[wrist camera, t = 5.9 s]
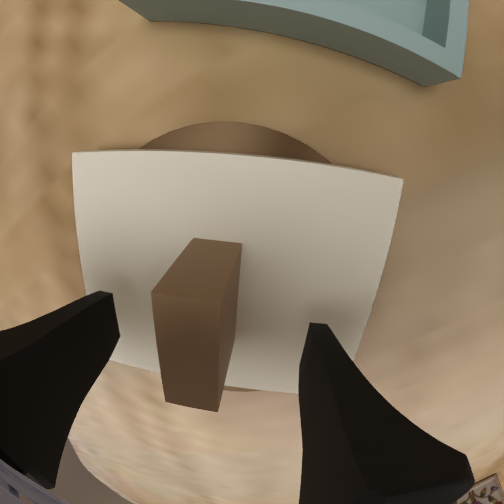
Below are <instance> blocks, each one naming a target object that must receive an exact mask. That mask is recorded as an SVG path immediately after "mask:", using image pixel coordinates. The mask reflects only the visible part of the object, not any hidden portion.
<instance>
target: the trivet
mask: <svg viewBox="0 0 504 504" xmlns="http://www.w3.org/2000/svg"><path fill="white" fill-rule="evenodd" d="M140 149H166V150H195V151H214V152H229V153H242V154H253V155H264V156H273V157H282V158H291V159H299V160H306V161H314V162H321V163H327V164H331V163H330V162H329V161H328V160H327V159H326V158H324V157H323V156H321V155H320V154H319V153H317V152H316V151H314V150H313V149H312V148H310V147H309V146H307V145H305V144H304V143H302V142H300V141H298V140H296V139H294V138H292V137H290V136H288V135H286V134H283V133H280V132H277V131H274V130H271V129H268V128H265V127H261V126H256V125H250V124H244V123H237V122H211V123H204V124H197V125H191V126H187V127H184V128H180V129H177V130H174V131H171V132H168V133H166V134H164V135H162V136H160V137H158V138H156V139H154V140H152V141H150V142H148V143H147V144H145V145H144V146H143V147H141V148H140ZM373 304H374V303H373ZM372 307H373V306H372ZM223 390H228V391H261V390H255V389H247V388H240V387H233V386H226V385H224V388H223Z"/></svg>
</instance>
